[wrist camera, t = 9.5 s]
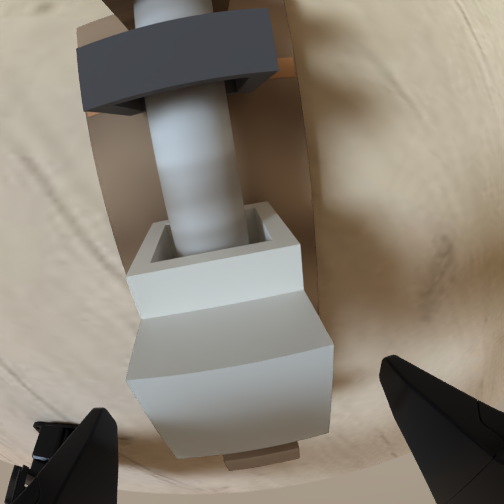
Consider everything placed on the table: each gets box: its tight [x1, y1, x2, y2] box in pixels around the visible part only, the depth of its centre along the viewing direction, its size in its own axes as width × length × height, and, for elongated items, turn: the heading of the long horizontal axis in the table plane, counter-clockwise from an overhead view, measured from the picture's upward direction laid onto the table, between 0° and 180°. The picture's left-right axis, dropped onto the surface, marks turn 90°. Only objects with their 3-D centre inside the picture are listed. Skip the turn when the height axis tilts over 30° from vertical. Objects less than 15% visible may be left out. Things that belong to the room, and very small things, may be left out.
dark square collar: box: [76, 8, 279, 116], centre depth 9 cm, size 2×5×5 cm, turn 98°
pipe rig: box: [77, 0, 319, 471], centre depth 13 cm, size 25×10×6 cm, turn 8°
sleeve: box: [126, 201, 334, 459], centre depth 11 cm, size 6×5×8 cm
